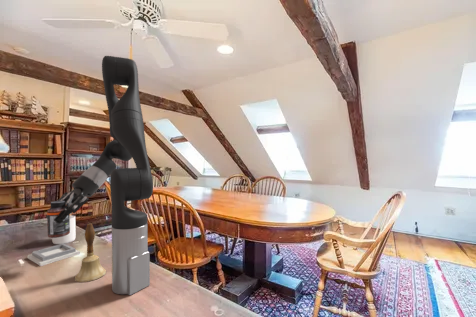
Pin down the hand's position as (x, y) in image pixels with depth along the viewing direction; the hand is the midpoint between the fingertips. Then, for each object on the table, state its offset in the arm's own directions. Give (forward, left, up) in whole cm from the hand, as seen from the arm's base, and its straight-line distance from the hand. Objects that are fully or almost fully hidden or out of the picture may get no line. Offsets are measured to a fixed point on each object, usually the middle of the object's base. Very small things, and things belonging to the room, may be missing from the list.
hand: (52, 220), depth 78 cm
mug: (+29, -14, -16) cm, 36 cm away
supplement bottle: (0, -2, -5) cm, 6 cm away
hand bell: (-15, -5, -16) cm, 22 cm away
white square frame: (+12, -5, -16) cm, 20 cm away
